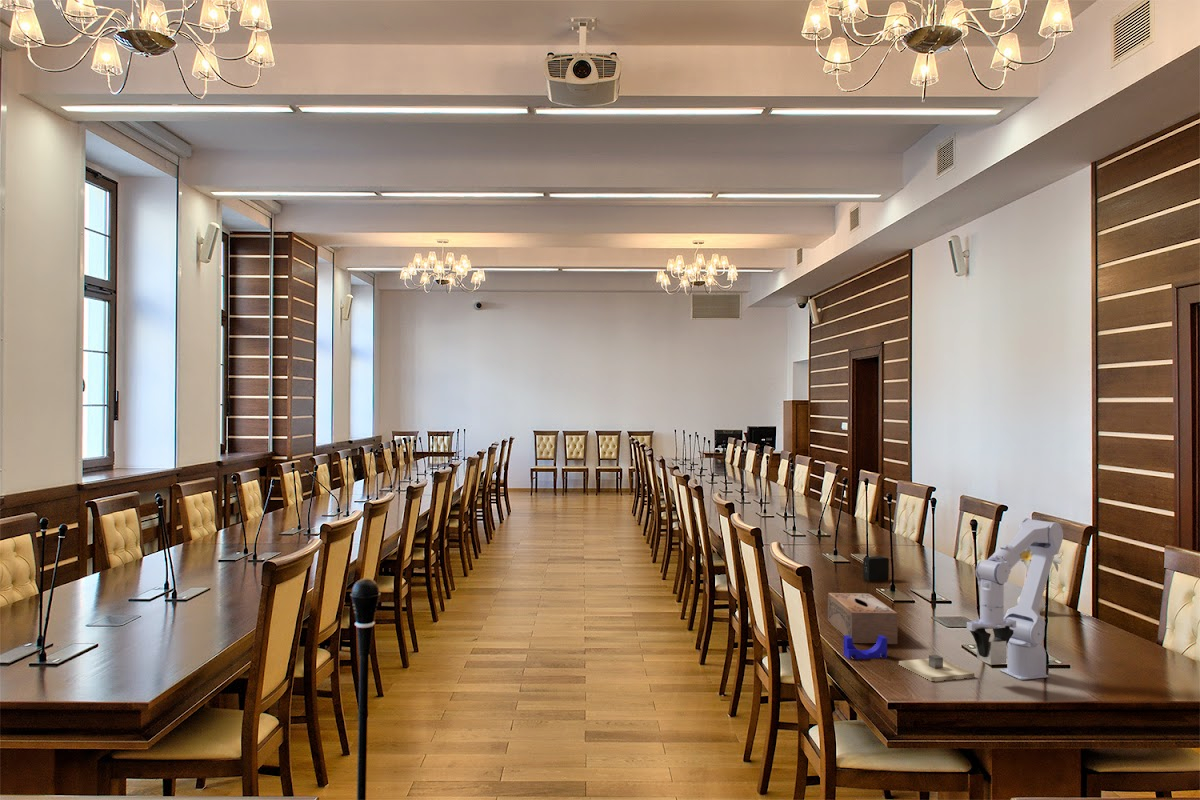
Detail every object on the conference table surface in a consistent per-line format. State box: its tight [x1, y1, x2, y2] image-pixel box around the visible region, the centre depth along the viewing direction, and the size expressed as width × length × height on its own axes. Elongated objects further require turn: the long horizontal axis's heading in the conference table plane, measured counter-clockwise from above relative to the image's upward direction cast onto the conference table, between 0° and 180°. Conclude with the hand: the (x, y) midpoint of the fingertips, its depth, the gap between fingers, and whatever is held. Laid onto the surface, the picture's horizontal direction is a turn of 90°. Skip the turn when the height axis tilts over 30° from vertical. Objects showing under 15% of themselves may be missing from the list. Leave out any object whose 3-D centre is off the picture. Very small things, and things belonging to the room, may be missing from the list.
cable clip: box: [843, 635, 888, 660], centre depth 232 cm, size 12×4×6 cm, turn 92°
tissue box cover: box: [827, 592, 899, 645], centre depth 259 cm, size 26×14×10 cm, turn 0°
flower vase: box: [1016, 548, 1063, 615], centre depth 287 cm, size 13×18×25 cm
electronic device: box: [862, 555, 890, 583], centre depth 336 cm, size 4×10×10 cm, turn 107°
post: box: [928, 654, 944, 669], centre depth 221 cm, size 3×3×3 cm
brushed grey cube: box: [976, 635, 1007, 666], centre depth 211 cm, size 5×5×6 cm
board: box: [898, 657, 975, 682], centre depth 221 cm, size 14×14×1 cm
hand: (991, 655), depth 211 cm, fingers closed on brushed grey cube, 5 cm apart
